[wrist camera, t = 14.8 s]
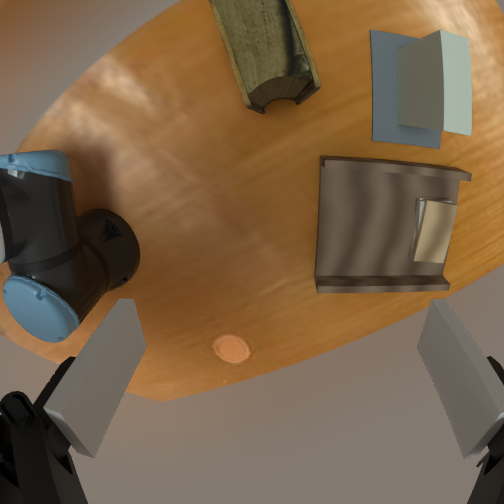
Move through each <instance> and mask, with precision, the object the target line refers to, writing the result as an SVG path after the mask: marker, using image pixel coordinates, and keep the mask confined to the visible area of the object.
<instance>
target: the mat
mask: <svg viewBox="0 0 504 504" xmlns="http://www.w3.org/2000/svg"><path fill="white" fill-rule="evenodd" d="M417 40H419V39H417V38H413V37H408V36H404V35H399V34H394V33H388V32H383V31H377V30H370V43H371V62H372V141H380V142H390V143H400V144H408V145H416V146H424V147H431V148H438V149H440V137H441V131H440V130H433V129H426V128H419V127H412V126H405V125H397V72H396V50H398V49H400V48H402V47H404V46H406V45H408V44H411V43H413V42H415V41H417Z"/></svg>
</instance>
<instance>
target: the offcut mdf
mask: <svg viewBox="0 0 504 504" xmlns="http://www.w3.org/2000/svg"><path fill="white" fill-rule="evenodd" d="M424 200H425V199H424ZM424 200H418V202H417V220H416V233H415V242H416V238H417V234H418V230H419V225H420V220H421V215H422V211H423V205H424ZM430 200H436V201H442V202H447V203H451V200H449V199H430ZM414 247H415V244H414Z"/></svg>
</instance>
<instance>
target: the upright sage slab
mask: <svg viewBox="0 0 504 504" xmlns="http://www.w3.org/2000/svg"><path fill="white" fill-rule="evenodd" d="M396 72H397V125H405V126H412V127H419V128H426V129H433V130H440V131H446V132H452V133H458V134H463V135H469V136H471V126H472V83H471V64H470V51H469V41H468V38H465V37H462V36H459V35H456V34H453V33H449V32H446V31H443V30H438V31H436V32H434V33H432V34H429V35H427V36H425V37H423V38H421V39H419V40H417V41H415V42H413V43H411V44H408V45H406V46H404V47H402V48H400V49H398V50H396Z"/></svg>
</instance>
